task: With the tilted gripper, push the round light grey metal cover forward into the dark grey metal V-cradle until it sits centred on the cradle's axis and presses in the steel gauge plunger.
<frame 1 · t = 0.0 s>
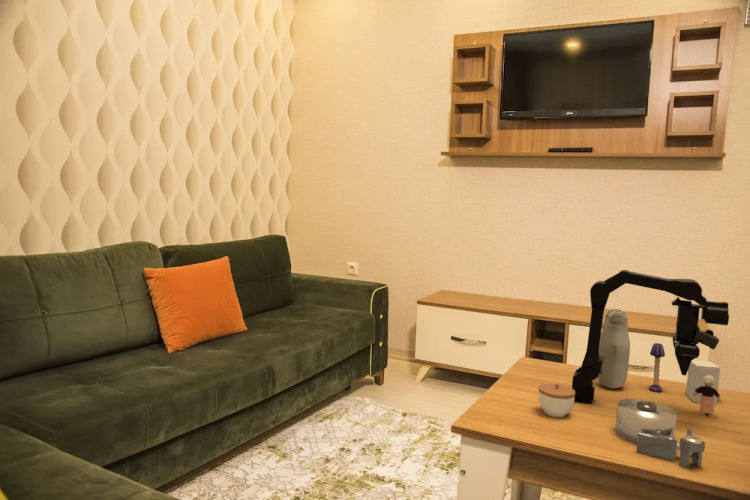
hand: (682, 371, 169), 15 cm above the table, tool pointing down, fingers open, 9 cm apart
lidded jar: (555, 414, 170), on the table
centering jig: (654, 443, 151), on the table
toy lamp: (654, 390, 195), on the table
dial plunger: (680, 447, 142), point 3 cm above the table, slide at 0.0 cm
supplement box: (700, 400, 187), on the table
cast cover: (644, 436, 156), on the table
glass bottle: (610, 387, 196), on the table
grandmother figurine: (705, 415, 174), on the table
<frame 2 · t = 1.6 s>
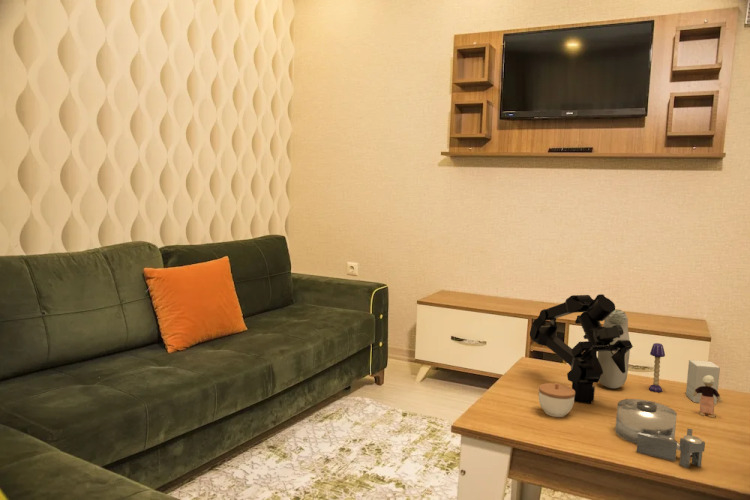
hand: (613, 373, 168), 13 cm above the table, tool tilted 45°, fingers open, 8 cm apart
nothing on the table moved.
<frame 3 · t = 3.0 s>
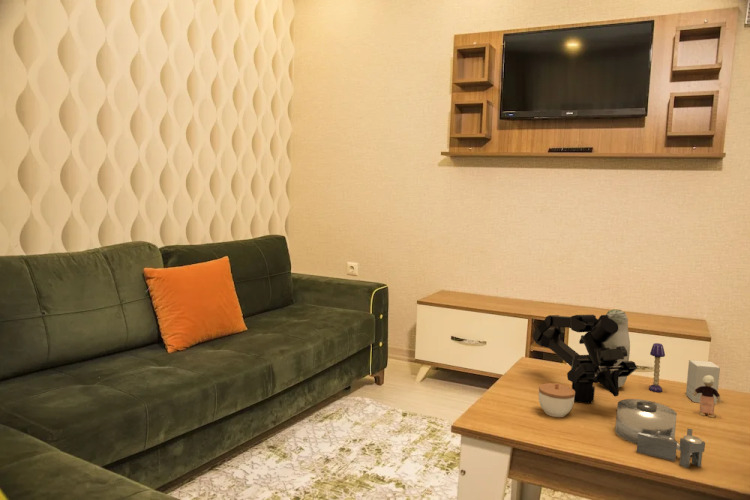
hand: (616, 395, 166), 8 cm above the table, tool tilted 45°, fingers closed
nothing on the table moved.
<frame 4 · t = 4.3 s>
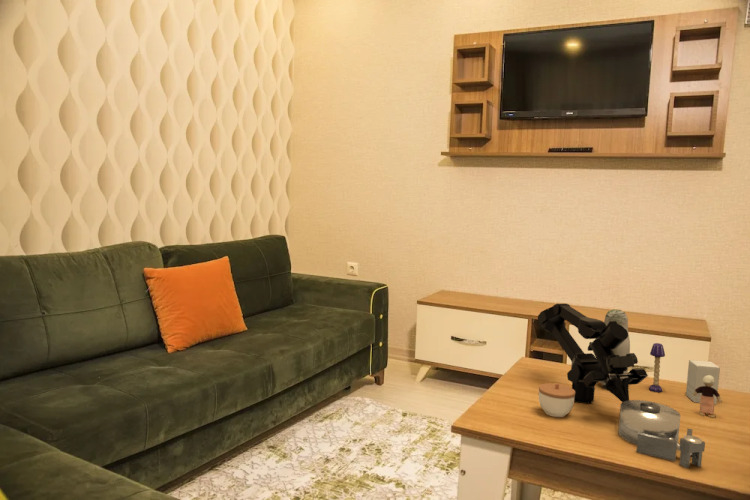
hand: (627, 404, 161), 7 cm above the table, tool tilted 45°, fingers closed
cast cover: (647, 437, 155), on the table, touching gripper
everything else where it was.
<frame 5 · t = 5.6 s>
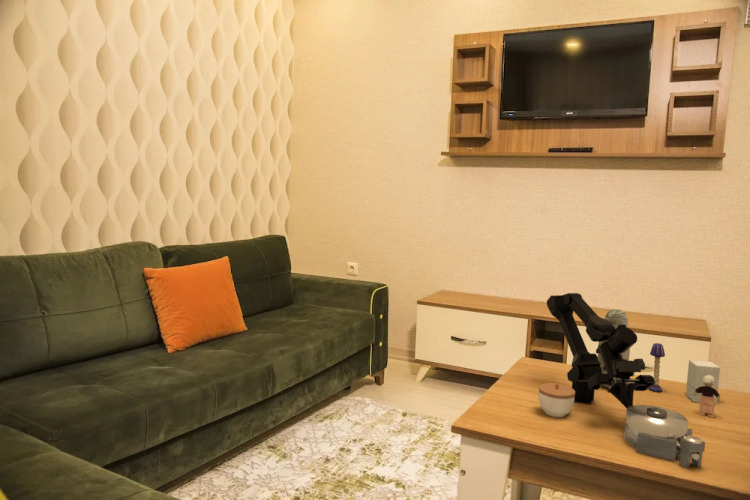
hand: (630, 410, 157), 7 cm above the table, tool tilted 45°, fingers closed, pressing on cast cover
dial plunger: (686, 451, 140), point 3 cm above the table, slide at 1.8 cm
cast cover: (654, 443, 151), on the table, touching centering jig, gripper
everything else where it was.
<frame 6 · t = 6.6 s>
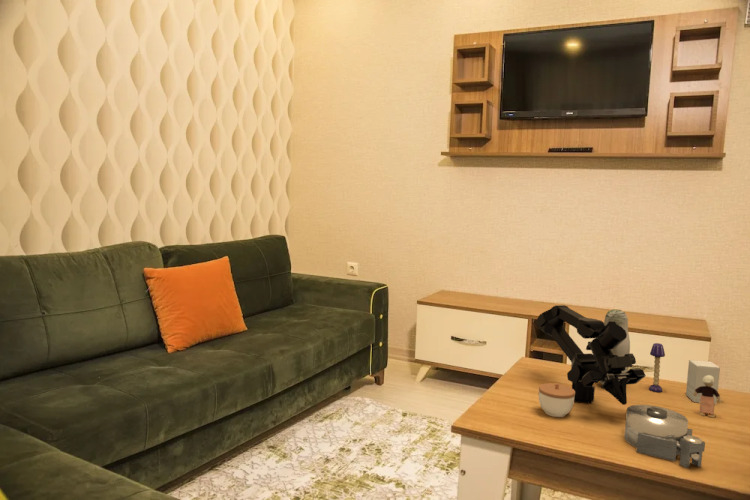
hand: (624, 404, 162), 6 cm above the table, tool tilted 45°, fingers closed
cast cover: (654, 443, 152), on the table
everything else where it was.
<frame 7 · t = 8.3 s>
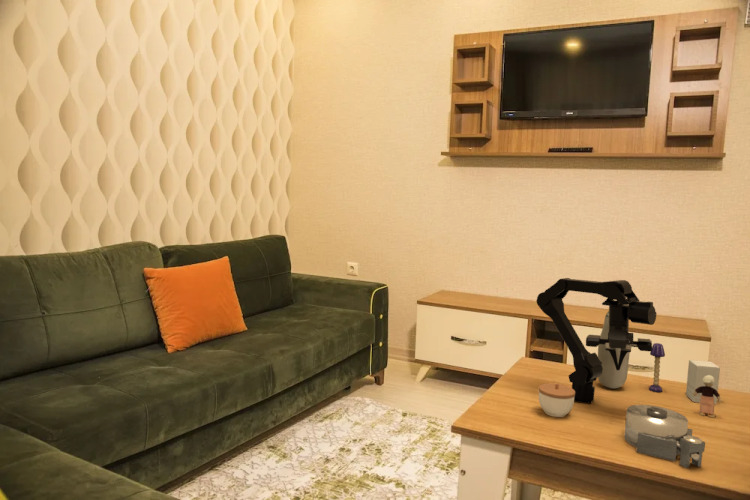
hand: (618, 370, 173), 13 cm above the table, tool pointing down, fingers closed
nothing on the table moved.
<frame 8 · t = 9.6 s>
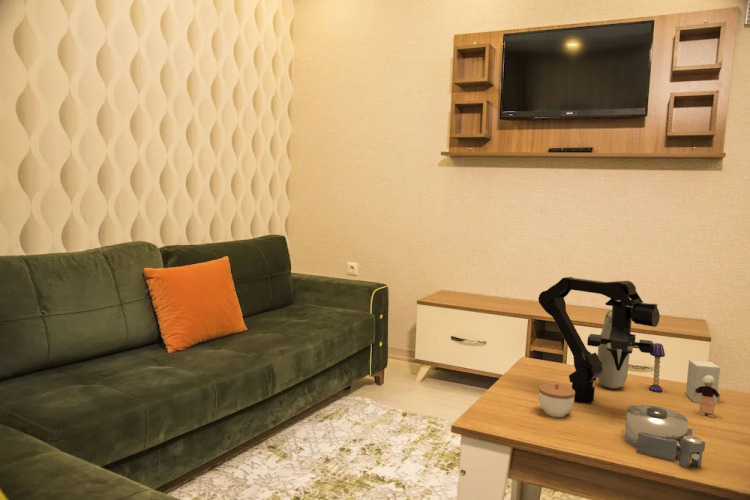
hand: (618, 370, 173), 13 cm above the table, tool pointing down, fingers closed
nothing on the table moved.
at the end: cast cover 0.5 cm off-centre on the centering jig, point 0.0 cm above the centering jig's base; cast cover tilted 0°; dial plunger slide at 1.8 cm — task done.
